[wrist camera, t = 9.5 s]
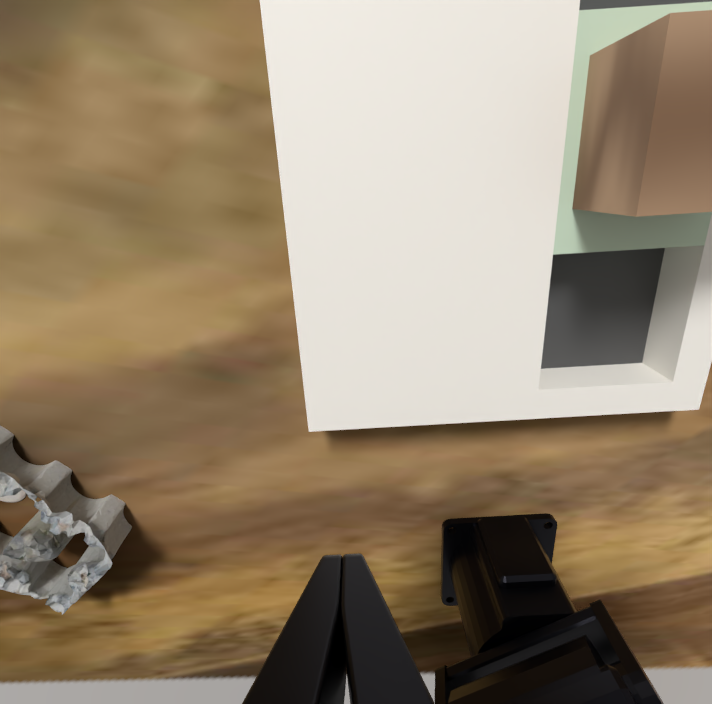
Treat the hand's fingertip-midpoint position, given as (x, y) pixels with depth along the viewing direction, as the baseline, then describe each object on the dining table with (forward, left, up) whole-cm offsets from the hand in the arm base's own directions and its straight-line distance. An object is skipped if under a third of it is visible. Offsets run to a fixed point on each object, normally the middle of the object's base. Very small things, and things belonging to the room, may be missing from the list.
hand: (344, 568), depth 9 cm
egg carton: (-8, +18, -14) cm, 24 cm away
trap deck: (+8, -7, -13) cm, 17 cm away
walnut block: (+9, -12, -10) cm, 18 cm away
